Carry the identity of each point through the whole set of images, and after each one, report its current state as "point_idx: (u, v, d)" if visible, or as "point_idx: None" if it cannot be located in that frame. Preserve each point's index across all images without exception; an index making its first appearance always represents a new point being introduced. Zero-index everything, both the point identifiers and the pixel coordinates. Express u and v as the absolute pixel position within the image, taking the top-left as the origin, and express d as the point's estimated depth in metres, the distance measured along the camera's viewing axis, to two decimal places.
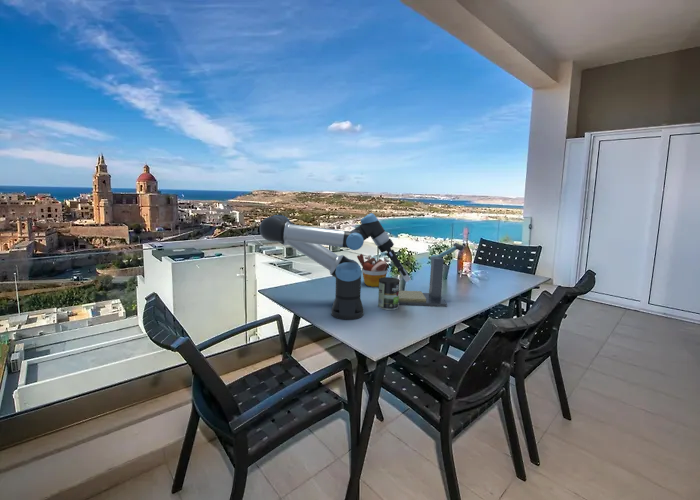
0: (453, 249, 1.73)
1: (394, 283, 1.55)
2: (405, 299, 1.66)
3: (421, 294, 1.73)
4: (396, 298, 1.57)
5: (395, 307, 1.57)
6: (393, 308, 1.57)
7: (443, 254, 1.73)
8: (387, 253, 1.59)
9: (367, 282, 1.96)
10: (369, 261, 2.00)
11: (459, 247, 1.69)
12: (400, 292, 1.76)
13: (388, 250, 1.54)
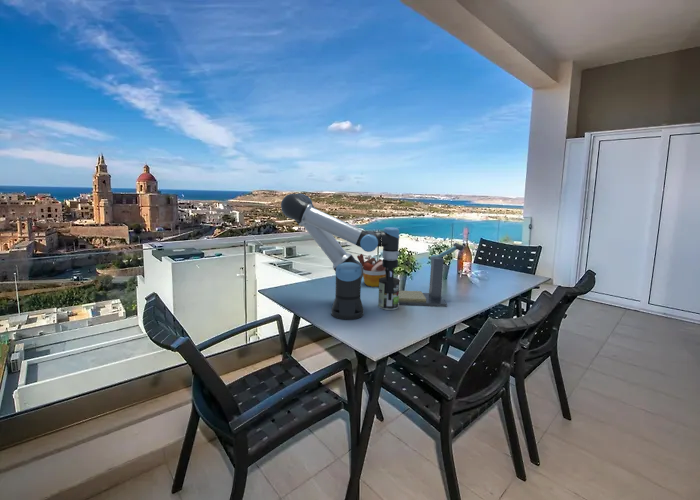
0: (453, 249, 1.73)
1: (394, 283, 1.55)
2: (405, 299, 1.66)
3: (421, 294, 1.73)
4: (396, 298, 1.57)
5: (395, 307, 1.57)
6: (393, 308, 1.57)
7: (443, 254, 1.73)
8: (386, 270, 1.59)
9: (367, 282, 1.96)
10: (369, 261, 2.00)
11: (459, 247, 1.69)
12: (400, 292, 1.76)
13: (390, 268, 1.54)
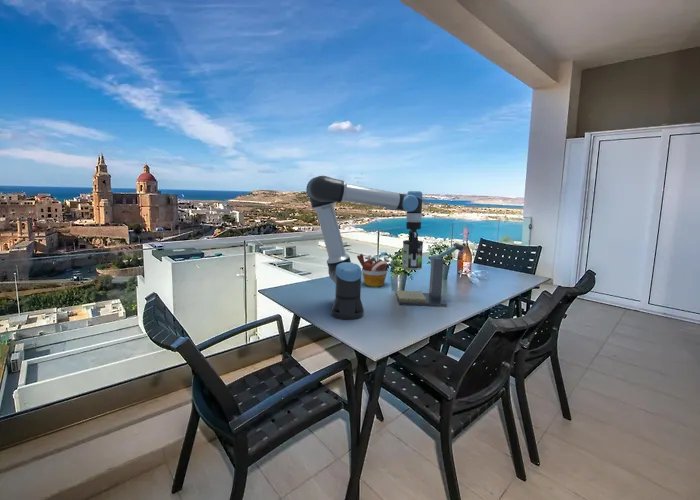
0: (453, 249, 1.73)
1: (418, 243, 1.62)
2: (405, 299, 1.66)
3: (421, 294, 1.73)
4: (420, 258, 1.65)
5: (419, 267, 1.65)
6: (417, 268, 1.65)
7: (443, 254, 1.73)
8: (410, 232, 1.67)
9: (367, 282, 1.96)
10: (369, 261, 2.00)
11: (459, 247, 1.69)
12: (400, 292, 1.76)
13: (414, 230, 1.62)
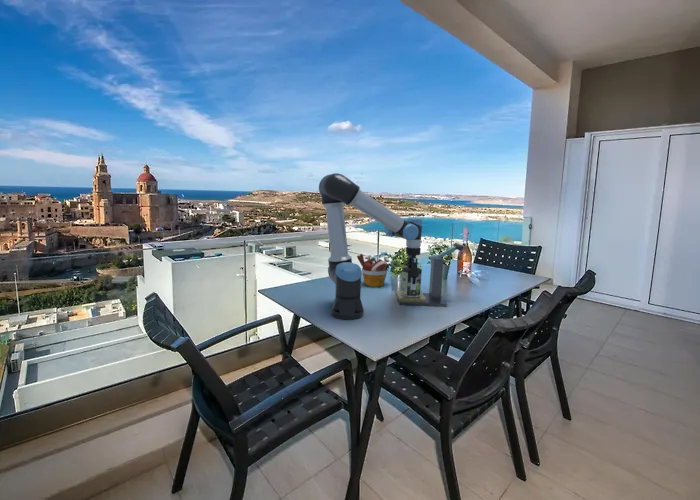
0: (453, 249, 1.73)
1: (417, 272, 1.66)
2: (405, 299, 1.66)
3: (421, 294, 1.73)
4: (419, 286, 1.68)
5: (418, 294, 1.69)
6: (416, 295, 1.68)
7: (443, 254, 1.73)
8: (409, 257, 1.70)
9: (367, 282, 1.96)
10: (369, 261, 2.00)
11: (459, 247, 1.69)
12: (400, 292, 1.76)
13: (413, 256, 1.65)
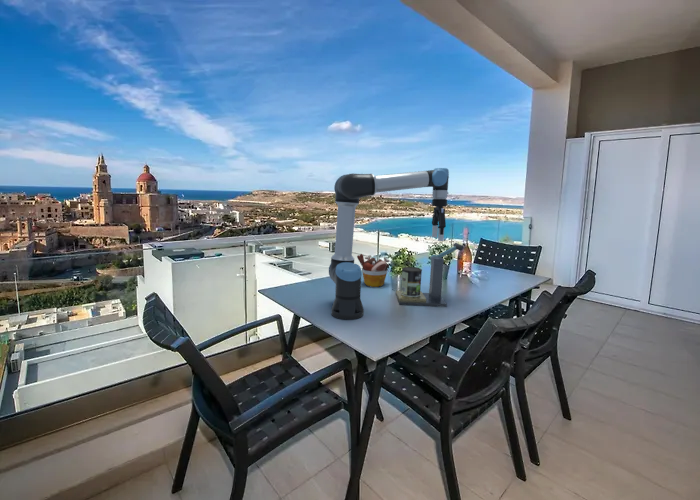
0: (453, 249, 1.73)
1: (417, 272, 1.66)
2: (405, 299, 1.66)
3: (421, 294, 1.73)
4: (419, 286, 1.68)
5: (418, 294, 1.69)
6: (416, 295, 1.68)
7: (443, 254, 1.73)
8: (436, 210, 1.68)
9: (367, 282, 1.96)
10: (369, 261, 2.00)
11: (459, 247, 1.69)
12: (400, 292, 1.76)
13: (440, 206, 1.64)
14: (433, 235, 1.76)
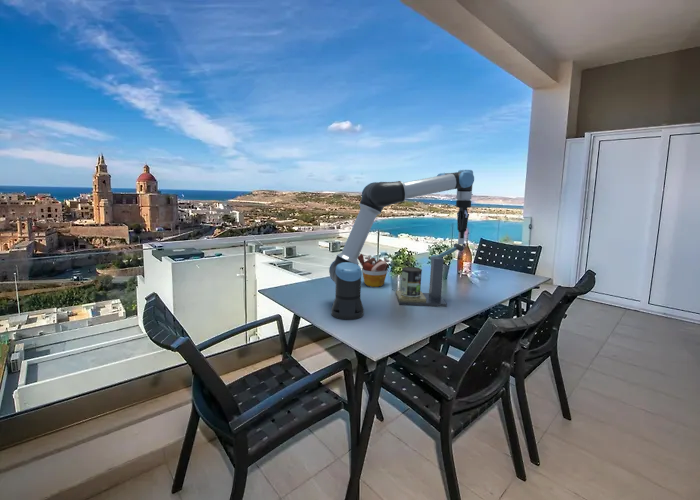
0: (453, 249, 1.73)
1: (417, 272, 1.66)
2: (405, 299, 1.66)
3: (421, 294, 1.73)
4: (419, 286, 1.68)
5: (418, 294, 1.69)
6: (416, 295, 1.68)
7: (443, 254, 1.73)
8: (459, 210, 1.71)
9: (367, 282, 1.96)
10: (369, 261, 2.00)
11: (459, 248, 1.69)
12: (400, 292, 1.76)
13: (465, 208, 1.66)
14: None
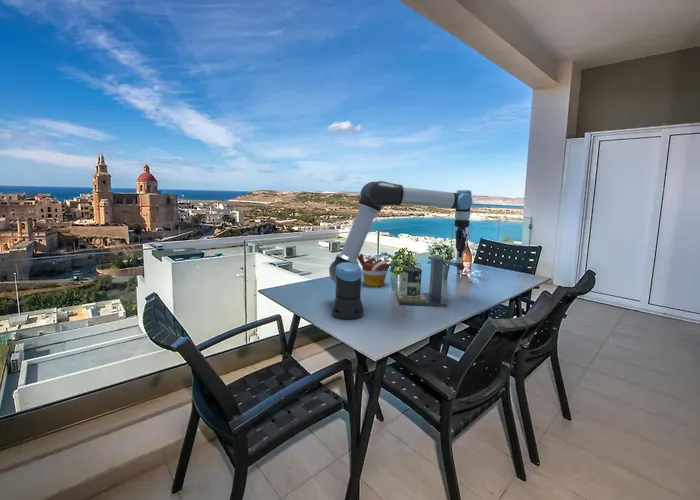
0: (454, 264, 1.74)
1: (417, 272, 1.66)
2: (405, 299, 1.66)
3: (421, 294, 1.73)
4: (419, 286, 1.68)
5: (418, 294, 1.69)
6: (416, 295, 1.68)
7: (444, 261, 1.74)
8: (458, 230, 1.73)
9: (367, 282, 1.96)
10: (369, 261, 2.00)
11: (461, 266, 1.71)
12: (400, 292, 1.76)
13: (463, 227, 1.68)
14: None
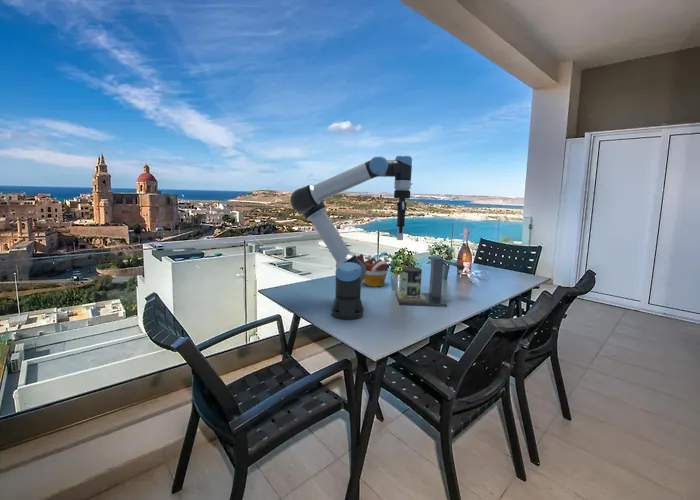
0: (454, 264, 1.74)
1: (417, 272, 1.66)
2: (405, 299, 1.66)
3: (421, 294, 1.73)
4: (419, 286, 1.68)
5: (418, 294, 1.69)
6: (416, 295, 1.68)
7: (444, 261, 1.74)
8: (398, 202, 1.52)
9: (367, 282, 1.96)
10: (369, 261, 2.00)
11: (461, 266, 1.71)
12: (400, 292, 1.76)
13: (402, 198, 1.47)
14: None
